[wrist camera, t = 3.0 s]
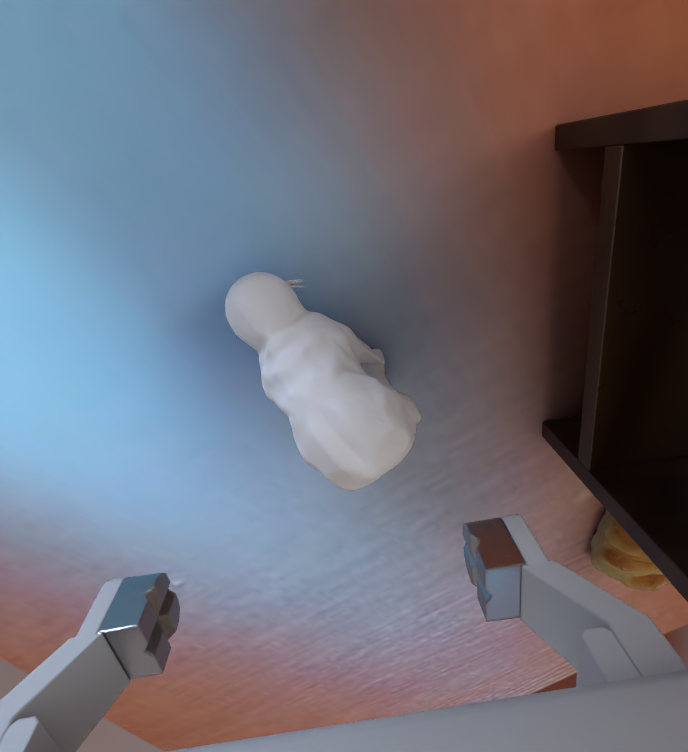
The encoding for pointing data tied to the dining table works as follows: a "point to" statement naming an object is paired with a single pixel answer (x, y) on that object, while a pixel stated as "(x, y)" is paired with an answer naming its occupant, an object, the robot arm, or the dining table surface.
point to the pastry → (623, 557)
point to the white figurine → (323, 383)
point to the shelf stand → (637, 334)
